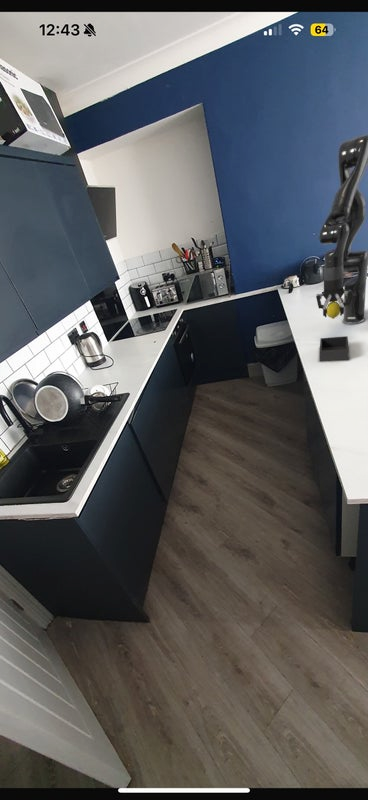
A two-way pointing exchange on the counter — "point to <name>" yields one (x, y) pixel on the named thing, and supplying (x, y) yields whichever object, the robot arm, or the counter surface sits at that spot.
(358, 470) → the counter surface
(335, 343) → the tote
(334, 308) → the lemon
